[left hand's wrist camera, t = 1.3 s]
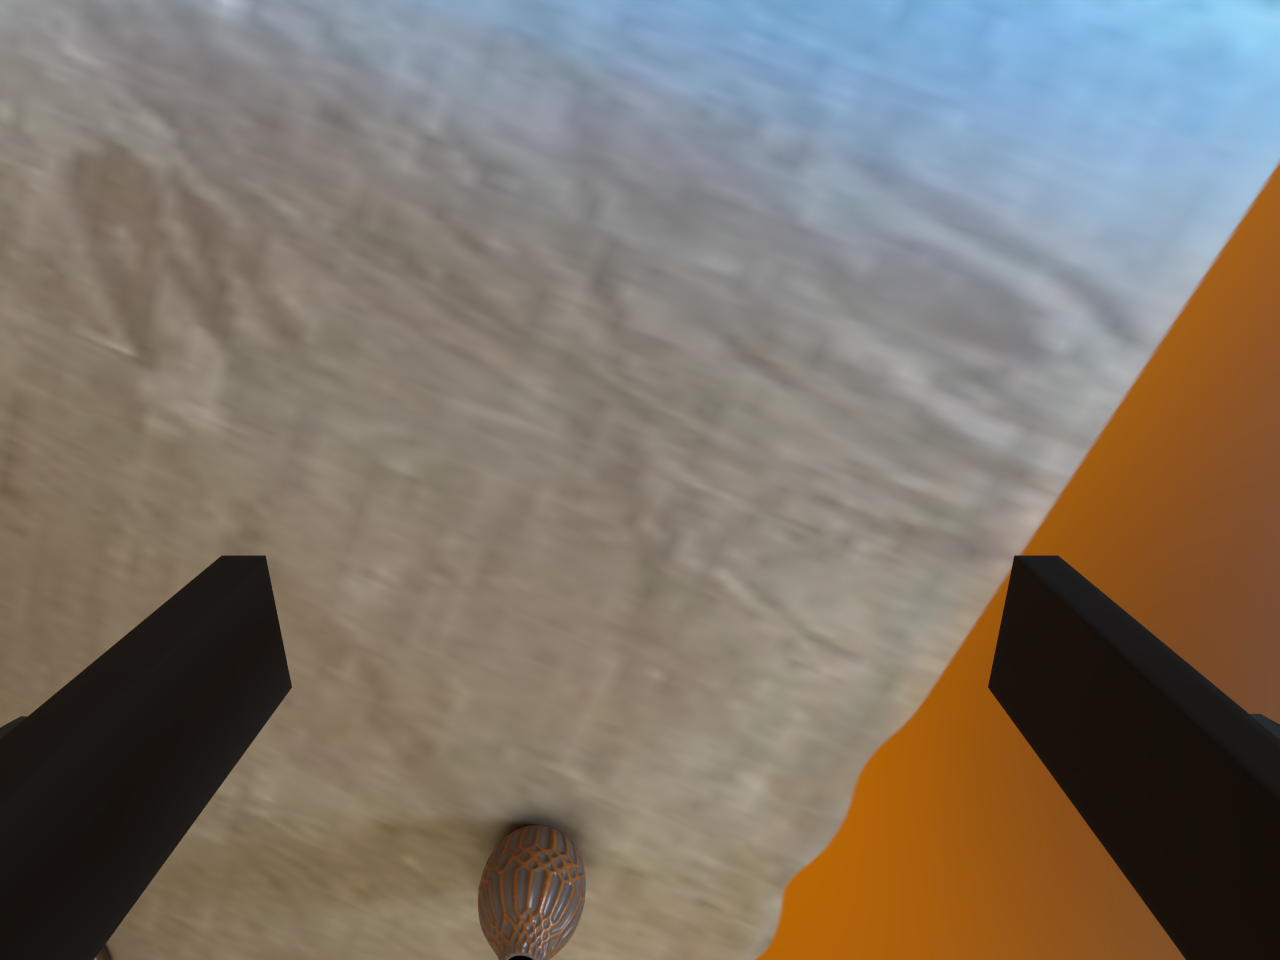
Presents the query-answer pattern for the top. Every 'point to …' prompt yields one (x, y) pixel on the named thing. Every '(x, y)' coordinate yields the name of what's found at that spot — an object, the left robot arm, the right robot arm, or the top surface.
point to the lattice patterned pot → (531, 894)
